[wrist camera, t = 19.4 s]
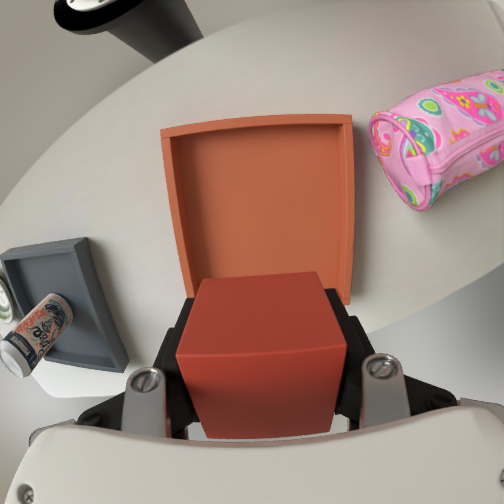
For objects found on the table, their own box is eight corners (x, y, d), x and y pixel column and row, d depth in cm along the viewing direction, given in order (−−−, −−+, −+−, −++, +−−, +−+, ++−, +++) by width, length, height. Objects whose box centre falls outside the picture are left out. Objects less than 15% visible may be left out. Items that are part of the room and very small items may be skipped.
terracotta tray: (169, 130, 22) (159, 129, 20) (342, 117, 22) (351, 114, 19) (196, 303, 29) (191, 316, 26) (342, 292, 28) (349, 305, 26)
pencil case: (481, 71, 18) (531, 65, 9) (504, 140, 21) (554, 149, 12) (347, 114, 22) (393, 102, 13) (384, 202, 24) (435, 230, 16)
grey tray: (10, 248, 27) (-2, 255, 24) (86, 236, 26) (73, 244, 24) (52, 350, 33) (44, 360, 31) (129, 360, 33) (123, 373, 30)
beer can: (80, 316, 29) (32, 379, 18) (62, 326, 30) (18, 382, 19) (59, 286, 28) (2, 341, 17) (43, 298, 29) (-9, 350, 18)
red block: (202, 278, 11) (173, 355, 7) (316, 270, 11) (348, 344, 6) (218, 360, 12) (206, 439, 8) (312, 355, 12) (329, 432, 8)
